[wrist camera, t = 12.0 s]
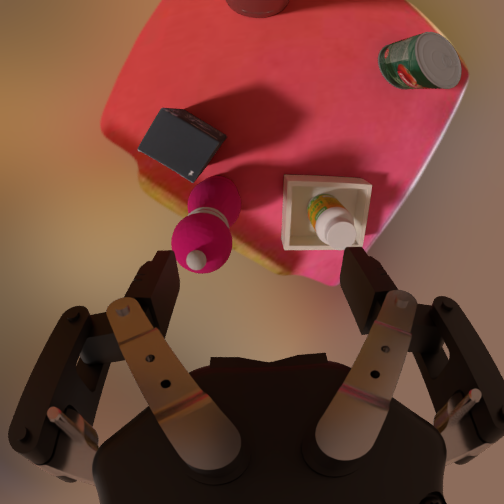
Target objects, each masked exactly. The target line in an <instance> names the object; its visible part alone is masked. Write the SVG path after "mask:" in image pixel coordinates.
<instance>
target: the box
mask: <svg viewBox="0 0 504 504" xmlns="http://www.w3.org/2000/svg"><path fill="white" fill-rule="evenodd" d="M226 138H227V135H225V134H223V133H222V132H220V131H219V130H217V129H215V128H214V127H212V126H210V125H209V124H207V123H205V122H204V121H202V120H201V119H199V118H197V117H195V116H194V115H192V114H191V113H189V112H187V111H186V110H184V109H173V108H161V109H160V111H159V113H158V114H157V116H156V118H155V119H154V121H153V123H152V124H151V126H150V128H149V130H148V131H147V133H146V135H145V136H144V138H143V140H142V142H141V143H140V145H139V147H138V151H140V152H142V153H144V154H146V155H148V156H150V157H151V158H153V159H155V160H157V161H158V162H160V163H162V164H163V165H165V166H167V167H168V168H170V169H172V170H173V171H175V172H177V173H178V174H180V175H181V176H183V177H184V178H186V179H187V180H189V181H191V182H192V183H194V182H195V180H196V179H197V178H198V177H199V175H200V174H201V173H202V172H203V170H204V169H205V168H206V167H207V165H208V164H209V162H210V161H211V159H212V158H213V156H214V155H215V153H216V152H217V150H218V149H219V147H220V146H221V145H222V143H223V142H224V140H225V139H226Z"/></svg>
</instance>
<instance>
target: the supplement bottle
mask: <svg viewBox="0 0 504 504" xmlns="http://www.w3.org/2000/svg"><path fill="white" fill-rule="evenodd" d="M307 216H308V218H309V220H310V222H311V224H312V226H313V228H314V230H315V232H316V234H317V235H318V237H319V239H320V240H321V241H322V242H324V243H325V244H328V245H329V246H330V247H331V248H333V249H335V250H344V249H345V248H346V247H350V246H351V245H352V244H353V243H354V242H355V239H356V236H357V232H356V229H355V227H354V220H353V217H352V215H351V214H350V213H349V212H348V210H347V209H346V208H345V207H344V206H343V205H342V204H341V203H340V202H339V201H338V200H337V198H335V197H334V196H333V195H330V194H327V193H323V194H318V195H316V196H314V197H313V198H312V199H311V200H310V202H309V203H308V206H307Z"/></svg>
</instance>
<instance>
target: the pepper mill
mask: <svg viewBox="0 0 504 504" xmlns="http://www.w3.org/2000/svg"><path fill="white" fill-rule="evenodd" d="M240 210H241V199H240V196H239V193H238V190H237V188H236V186H235V184H234V183H233V182H232V181H231V180H229V179H228V178H226V177H223V176H212V177H209V178H207V179H205V180H204V181H202V182H200V183H199V184H198V185H196V186H195V187H194V189H193V190H192V192H191V194H190V196H189V199H188V212H189V215H188V216H187V217H185V218H184V219H182V220H181V221H180V222H179V223H178V225H177V226H176V228H175V229H174V232H173V236H172V242H171V245H172V250H173V251H174V253H175V257H176V260H177V261H178V263H179V264H180V265H181V266H182V267H184V268H185V269H187V270H189V271H191V272H195V273H202V274H203V273H210V272H213V271H215V270H217V269H219V268H220V267H221V266H222V265H223V264H224V263H225V262H226V261H227V260H228V258H229V256H230V253H231V250H232V236H231V233H230V230H229V227H231V226H232V225H233V224H234V222H235V221H236V220H237V218H238V216H239V213H240Z"/></svg>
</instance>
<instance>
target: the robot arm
mask: <svg viewBox="0 0 504 504" xmlns="http://www.w3.org/2000/svg"><path fill="white" fill-rule="evenodd" d="M226 2H227V3H228V5H229V6H230V7H231V8H232V9H233V10H234V11H236V12H237V13H239V14H241V15H244V16H248V17H254V18H263V17H269V16H272V15H275V14H277V13H279V12H280V11H282V10H283V9H284V8H285V7H286V5H287V4H288V2H289V0H226ZM340 284H341V288H342V290H343V292H344V295H345V297H346V299H347V301H348V304H349V306H350V308H351V311H352V313H353V315H354V317H355V320H356V322H357V325H358V327H359V329H360V332H361V334H362V335H365V334H368V336H367V338H366V340H365V342H364V344H363V346H362V348H361V350H360V353H359V355H358V357H357V358H356V361H355V362H354V364H353V366H352V368H350V367H348V366H345V365H343V364H340V363H337V362H332V361H328V360H327V356H326V353H317V354H305V355H297V356H293V357H289V358H285V359H282V360H278V361H274V362H262V361H257V360H251V359H246V358H240V357H211V360H210V365H209V366H205V367H201V368H199V369H196V370H193V371H191V372H190V373H188V371H187V370H186V369H185V367H184V366H183V365H182V363H181V362H180V361H179V359H178V358H177V356H176V355H175V353H174V352H173V351H172V349H171V348H170V346H169V345H168V343H167V342H166V340H165V336H166V333H167V329H168V326H169V322H170V319H171V315H172V312H173V309H174V306H175V303H176V299H177V296H178V293H179V289H180V279H179V274H178V268H177V264H176V257H175V253H174V251H173V250H168V251H157V253H156V255H155V256H154V258H153V260H152V261H148V262H146V263H145V264H144V265H143V266H141V268H140V269H139V271H138V272H137V275H136V276H135V278H134V281H132V283H131V285H130V287H129V289H128V291H127V292H126V294H125V296H124V298H120V299H117V300H115V301H113V302H112V303H111V304H110V305H109V306H108V308H107V310H106V312H104V313H99V314H94V315H90V314H89V311H88V309H87V308H86V307H84V306H75V307H72V308H70V309H68V310H67V311H65V313H63V314H62V316H61V318H60V319H59V321H58V323H57V325H56V326H55V328H54V330H53V332H52V334H51V335H50V337H49V339H48V341H47V343H46V345H45V347H44V349H43V351H42V353H41V354H40V356H39V358H38V361H37V363H36V365H35V367H34V369H33V371H32V373H31V375H30V377H29V380H28V382H27V384H26V386H25V389H24V391H23V393H22V396H21V398H20V401H19V403H18V406H17V409H16V411H15V414H14V416H13V419H12V422H11V425H10V428H9V433H8V438H9V442H10V445H11V446H12V448H13V449H14V450H15V451H16V452H18V453H19V454H21V455H22V456H24V457H25V458H27V459H28V460H29V461H30V462H31V463H32V464H34V465H36V466H37V467H39V468H40V469H42V470H44V471H45V472H47V473H49V474H51V475H53V476H56V477H58V478H59V479H61V480H63V481H65V482H75V481H77V480H78V481H81V482H84V483H88V484H91V485H94V486H96V489H97V492H98V496H99V500H100V504H447V503H446V502H445V499H444V496H443V475H444V469H445V466H446V465H449V464H451V463H456V464H459V465H460V464H465V463H467V462H469V461H470V460H472V459H473V458H475V457H476V456H478V455H479V454H480V453H482V452H483V451H485V450H486V449H487V448H489V447H490V446H491V445H493V444H494V443H495V442H497V441H498V440H499V439H500V438H502V437H503V436H504V380H503V378H502V376H501V374H500V372H499V370H498V368H497V366H496V365H495V363H494V361H493V359H492V357H491V356H490V354H489V352H488V351H487V349H486V347H485V345H484V344H483V342H482V340H481V339H480V337H479V335H478V334H477V332H476V331H475V329H474V328H473V326H472V325H471V323H470V321H469V320H468V318H467V317H466V315H465V314H464V312H463V311H462V310H461V308H460V307H459V305H458V304H457V303H456V302H455V301H454V300H452V299H450V298H448V297H445V296H439V297H436V298H435V299H434V301H433V304H432V306H431V305H423V304H417V301H416V299H415V298H414V297H413V296H412V295H411V294H410V293H408V292H406V291H402V290H398V289H397V287H396V286H395V284H394V283H393V281H392V280H391V278H390V277H389V275H387V273H386V271H385V270H384V269H383V267H382V265H381V264H380V262H378V261H377V260H375V259H374V258H373V257H371V256H368V255H367V254H366V252H365V251H364V249H363V248H362V247H346V248H345V250H344V256H343V262H342V267H341V273H340ZM444 342H445V344H446V346H447V347H448V349H449V352H450V358H449V360H448V358H447V356H446V354H445V352H444V350H443V348H442V346H443V344H444ZM407 352H413V355H414V357H415V359H416V362H417V364H418V367H419V369H420V371H421V374H422V377H423V379H424V381H425V384H426V387H427V389H428V392H429V395H430V398H431V400H432V403H433V406H434V408H435V412H436V415H435V417H434V426H433V425H432V424H430V423H429V422H427V421H426V420H424V419H423V418H421V417H420V416H418V415H417V414H416V413H414V412H413V411H411V410H410V409H408V408H407V407H405V406H404V405H403V404H401V403H400V402H398V401H397V400H396V399H394V398H393V397H392V396H393V393H394V390H395V388H396V385H397V382H398V379H399V376H400V373H401V371H402V367H403V364H404V361H405V358H406V355H407ZM79 356H80V358H79ZM78 358H79V361H78V363H77V360H78ZM122 360H126V362H127V365H128V366H129V369H130V371H131V373H132V375H133V377H134V379H135V381H136V383H137V385H138V387H139V388H140V390H141V392H142V394H143V396H144V398H145V400H146V401H147V403H148V405H149V406H148V407H147V408H146V409H144V410H143V411H142V412H141V413H139V414H138V415H137V416H136V417H135V418H134V419H132V420H131V421H130V422H129V423H127V424H126V425H125V426H124V427H122V428H121V429H120V430H119V431H117V432H116V433H115V434H114V435H112V436H111V437H110V438H109V439H107V440H106V441H105V442H104V443H103V444H102V445H101V446H100V447H99V446H98V434H97V432H96V430H95V429H94V428H93V423H94V418H95V414H96V411H97V407H98V404H99V400H100V397H101V393H102V389H103V386H104V383H105V380H106V376H107V373H108V370H109V367H110V364H111V362H116V361H122ZM76 363H77V366H76Z"/></svg>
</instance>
